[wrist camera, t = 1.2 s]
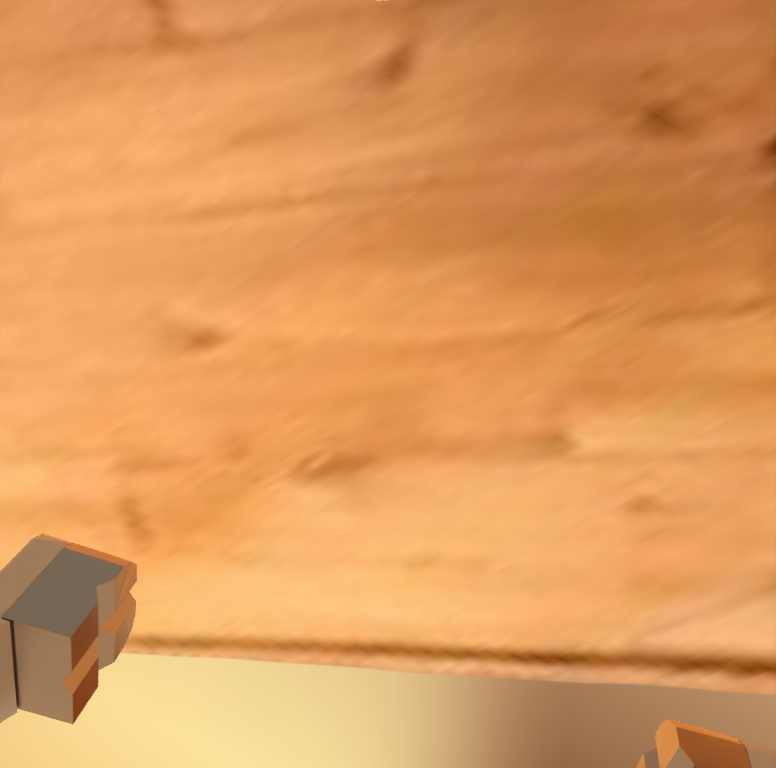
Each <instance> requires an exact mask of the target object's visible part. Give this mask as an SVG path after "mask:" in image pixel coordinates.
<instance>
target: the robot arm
mask: <svg viewBox="0 0 776 768" xmlns="http://www.w3.org/2000/svg"><path fill="white" fill-rule="evenodd" d="M136 581H137V565H136V564H135V563H133V562H131V561H128V560H125V559H122V558H118V557H115V556H112V555H109V554H106V553H103V552H100V551H97V550H94V549H91V548H88V547H84V546H81V545H78V544H75V543H71V542H68V541H64V540H61V539H58V538H55V537H52V536H49V535H45V534H41V535H39V536H37V537H35V538H33V539H32V540H31V541H30V542H29V543H28V544H27V545H26V546H25V547H24V548H23V549H22V550H21V551H20V552H19V553H18V554H17V555H16V556H15V557H14V558H13V559H12V560H11V561H10V562H9V563H8V564H7V565H6V566H5V567H4V568H3V569H2V570H1V571H0V723H1V722H2V721H4V720H5V719H7V718H8V717H10V716H12V715H13V714H15V713H17V709H21V710H24V711H28V712H32V713H35V714H39V715H42V716H46V717H49V718H53V719H56V720H60V721H64V722H68V723H71V724H73V723H74V722H75V721H76V719H77V717H78V716H79V714H80V713H81V711H82V710H83V708H84V707H85V705H86V704H87V702H88V701H89V699H90V698H91V696H92V695H93V693H94V692H95V690H96V689H97V687H98V670H100V669H102V668H104V667H106V666H108V665H110V664H112V663H113V662H115V660H116V658H117V657H118V655H119V654H120V652H121V650H122V649H123V647H124V645H125V643H126V641H127V638H128V636H129V634H130V631H131V629H132V626H133V621H134V617H135V611H136V601H135V599H134V598H133V597H132V595H131V594H130V592H129V591H130V590H131V588H132V587H133V585H134V584H135V582H136ZM655 737H656V745H657V748H655V749H653V750H650V751H648V752H646V753H644V754H643V755H642V757H641V759H640V761H639V763H638V765H637V767H636V768H776V750H775V749H771V748H768V747H765V746H761V745H758V744H754V743H751V742H747V741H744V740H740V739H736V738H734V737H731V736H728V735H724V734H721V733H717V732H713V731H710V730H706V729H703V728H699V727H695V726H692V725H689V724H685V723H682V722H678V721H674V720H670V719H668V720H666V721H664V722H663V723H662V724H661V725H660V727H659V728H658V730H657V732H656V733H655Z"/></svg>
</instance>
